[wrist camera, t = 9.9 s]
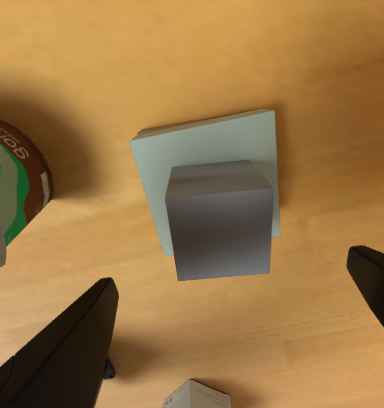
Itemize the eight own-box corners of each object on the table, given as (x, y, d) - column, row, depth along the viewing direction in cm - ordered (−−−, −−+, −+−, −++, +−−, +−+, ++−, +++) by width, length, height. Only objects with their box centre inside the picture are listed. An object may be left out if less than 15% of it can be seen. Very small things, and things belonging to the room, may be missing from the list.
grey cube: (248, 226, 17) (269, 273, 13) (180, 232, 17) (178, 280, 13) (248, 159, 15) (274, 188, 11) (171, 167, 15) (164, 198, 11)
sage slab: (270, 220, 20) (280, 236, 18) (167, 238, 21) (164, 256, 18) (262, 108, 16) (274, 110, 14) (137, 134, 17) (129, 141, 15)
